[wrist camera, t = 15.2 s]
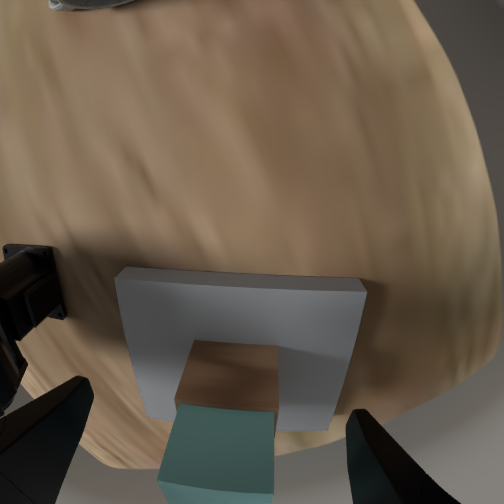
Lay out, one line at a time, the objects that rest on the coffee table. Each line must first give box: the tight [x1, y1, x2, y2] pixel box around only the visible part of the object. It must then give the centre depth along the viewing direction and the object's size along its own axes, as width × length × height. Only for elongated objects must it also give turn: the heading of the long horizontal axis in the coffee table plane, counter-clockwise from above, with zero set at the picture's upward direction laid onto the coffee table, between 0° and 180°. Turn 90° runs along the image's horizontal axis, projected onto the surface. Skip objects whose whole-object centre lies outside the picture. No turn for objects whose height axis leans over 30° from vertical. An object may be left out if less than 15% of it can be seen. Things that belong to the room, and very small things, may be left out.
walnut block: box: [174, 340, 279, 437], centre depth 18 cm, size 6×6×6 cm
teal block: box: [157, 404, 274, 504], centre depth 13 cm, size 5×5×5 cm
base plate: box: [114, 266, 367, 431], centre depth 21 cm, size 16×14×2 cm
